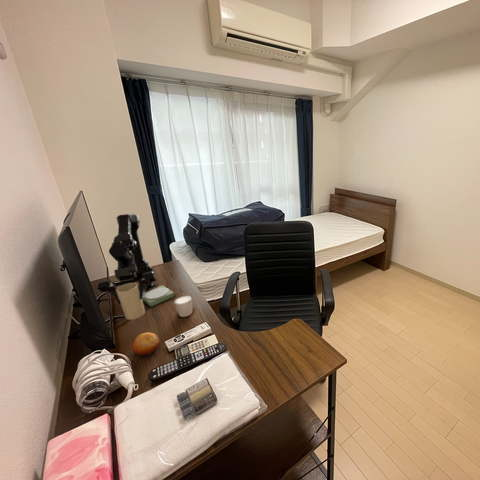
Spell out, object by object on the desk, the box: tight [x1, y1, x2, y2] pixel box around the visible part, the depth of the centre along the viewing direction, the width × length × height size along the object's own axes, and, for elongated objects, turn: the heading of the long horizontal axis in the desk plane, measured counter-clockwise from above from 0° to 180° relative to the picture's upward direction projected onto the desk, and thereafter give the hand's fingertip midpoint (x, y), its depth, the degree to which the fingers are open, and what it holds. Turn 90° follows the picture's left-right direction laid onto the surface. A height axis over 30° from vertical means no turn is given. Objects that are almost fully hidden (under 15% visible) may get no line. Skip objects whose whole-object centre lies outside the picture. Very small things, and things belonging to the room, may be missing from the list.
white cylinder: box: [174, 295, 194, 318], centre depth 114 cm, size 7×7×7 cm
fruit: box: [131, 331, 160, 356], centre depth 93 cm, size 8×8×8 cm
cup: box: [116, 282, 146, 321], centre depth 102 cm, size 7×7×13 cm
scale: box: [142, 285, 175, 308], centre depth 126 cm, size 12×11×3 cm
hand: (130, 301), depth 100 cm, fingers closed on cup, 7 cm apart
